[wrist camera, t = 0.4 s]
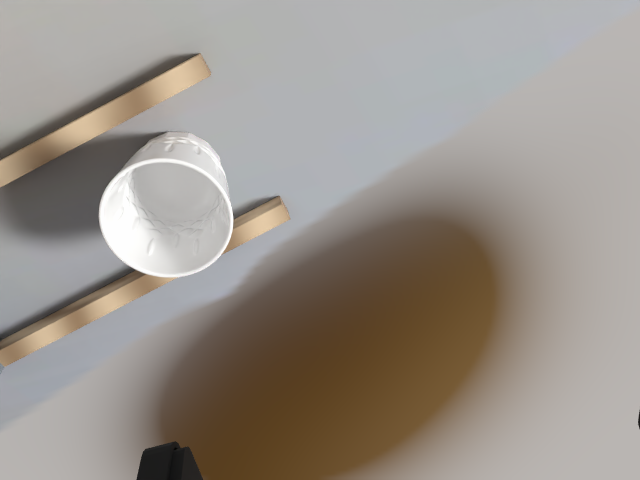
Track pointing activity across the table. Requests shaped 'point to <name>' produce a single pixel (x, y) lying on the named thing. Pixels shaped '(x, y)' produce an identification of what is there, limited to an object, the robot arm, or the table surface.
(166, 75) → the guide channel
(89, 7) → the table surface
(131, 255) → the white cup
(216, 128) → the table surface
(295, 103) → the table surface
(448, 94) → the table surface
